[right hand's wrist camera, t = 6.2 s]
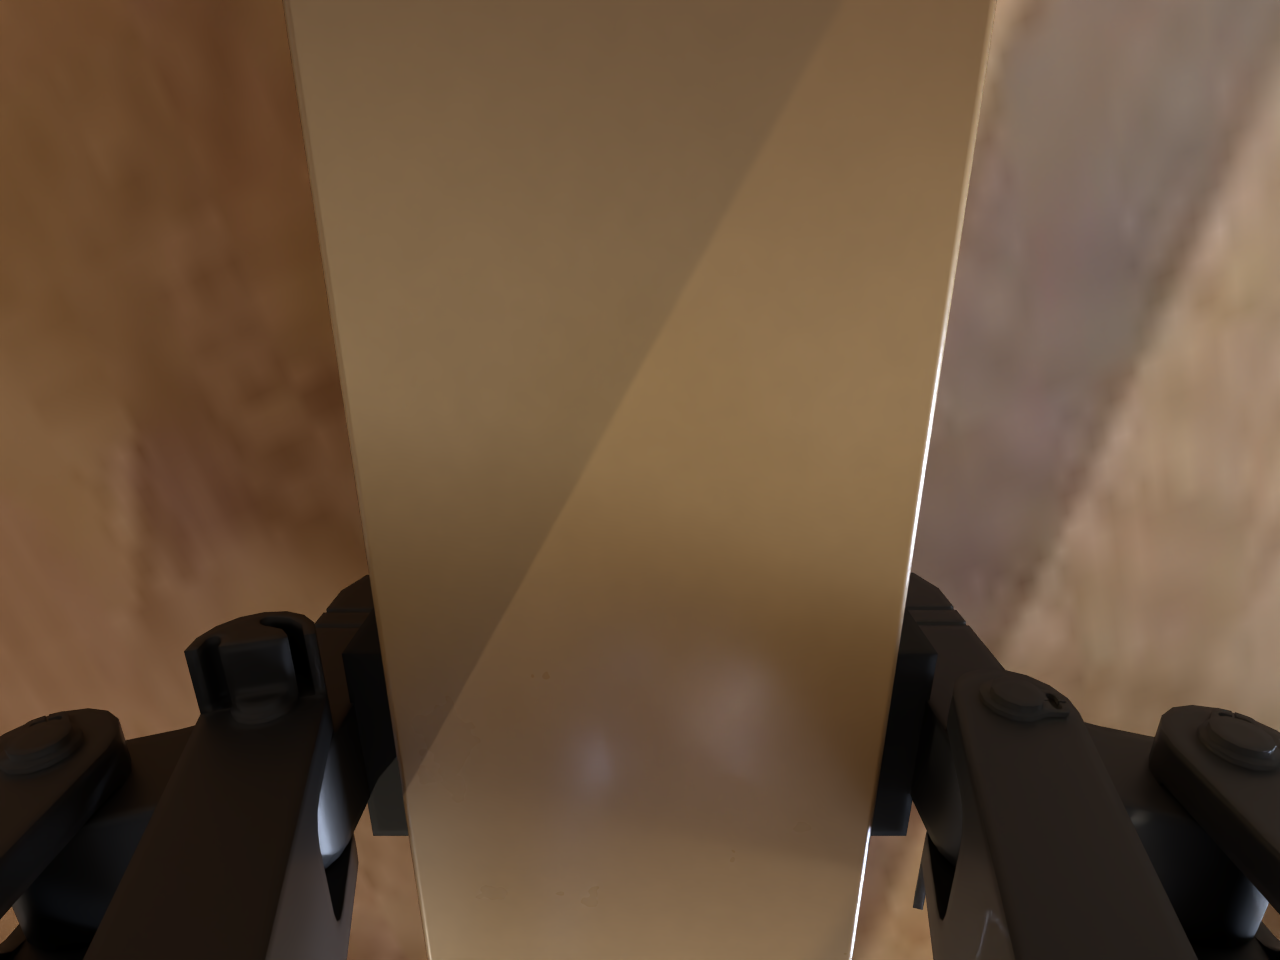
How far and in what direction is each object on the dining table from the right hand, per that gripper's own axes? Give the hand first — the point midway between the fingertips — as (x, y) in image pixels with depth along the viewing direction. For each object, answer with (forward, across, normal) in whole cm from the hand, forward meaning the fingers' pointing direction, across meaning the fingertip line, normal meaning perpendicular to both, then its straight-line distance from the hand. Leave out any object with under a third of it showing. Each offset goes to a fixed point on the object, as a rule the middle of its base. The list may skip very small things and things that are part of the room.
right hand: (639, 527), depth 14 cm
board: (+1, 0, -19) cm, 19 cm away
